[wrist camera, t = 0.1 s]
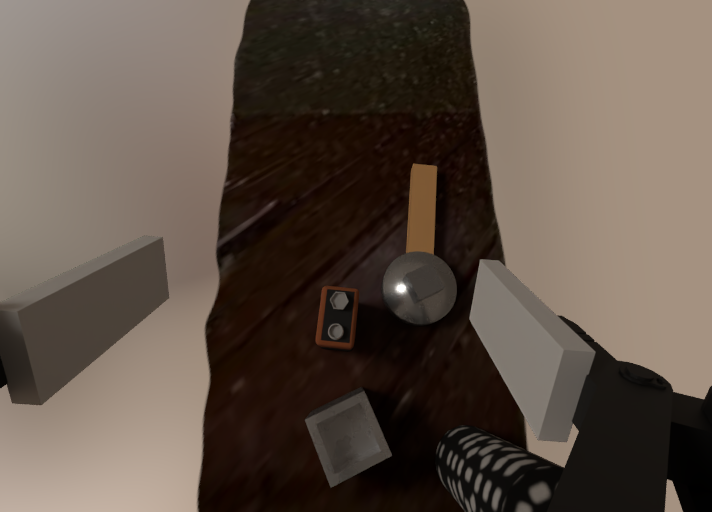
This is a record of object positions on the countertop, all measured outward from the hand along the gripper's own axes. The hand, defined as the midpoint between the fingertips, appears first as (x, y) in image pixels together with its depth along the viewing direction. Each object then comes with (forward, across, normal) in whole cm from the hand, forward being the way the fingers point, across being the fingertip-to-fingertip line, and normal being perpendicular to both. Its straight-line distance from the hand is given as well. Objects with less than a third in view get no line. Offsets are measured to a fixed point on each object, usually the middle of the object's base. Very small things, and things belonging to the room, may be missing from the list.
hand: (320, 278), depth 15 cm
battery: (+30, 0, +19) cm, 36 cm away
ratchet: (+38, -11, +9) cm, 40 cm away
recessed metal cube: (+23, -2, +29) cm, 37 cm away
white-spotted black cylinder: (+21, -17, +32) cm, 42 cm away
